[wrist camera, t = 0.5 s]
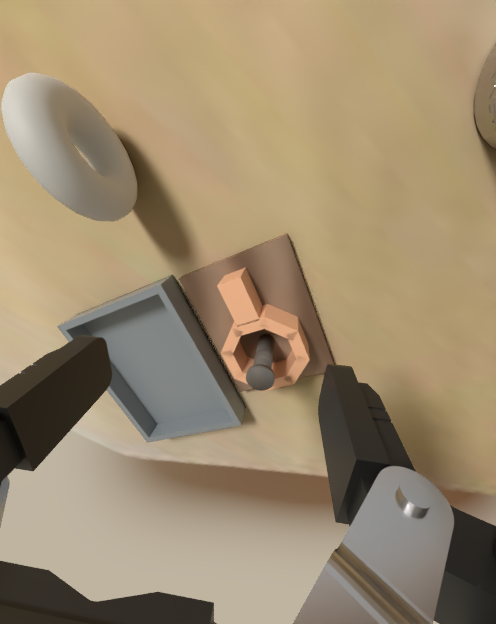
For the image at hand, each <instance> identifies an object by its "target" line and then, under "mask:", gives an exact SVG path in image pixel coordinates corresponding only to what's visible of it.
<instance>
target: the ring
mask: <svg viewBox="0 0 496 624" xmlns="http://www.w3.org/2000/svg"><path fill="white" fill-rule="evenodd" d="M217 287H218V289H219V291H220V293H221V295H222V297H223V299H224V301H225V303H226V305H227V307H228V309H229V311H230V313H231V315H232V317H233V319H234V323H233V325H232V327H231V330H230V332H229V335H228V337H227V339H226V342H225V344H224V346H223V349H222V351H221V355H222V357H223V359H224V360H225V362H226V364H227V366H228V368H229V370H230V371H231V373H232V375H233V377H234V379H236V380H239V381H241V382H244V383H246V384H248V383H247V381H246V374H247V371H248V369H249V368H250V367H251V366H253V363H254V359H252V358H250V357H248V356H247V355H246V353H245V351H244V349H243V347H242V345H241V343H240V341H239V339H240V337H241V336H242V335H245V334H249V333H252V332H255V331H259V330H262V329H266V330H268V331H271V332H273V333H275V334H278V335H280V336H282V337H285V338H287V339H288V340H289V343H290V345H291V348H292V351H291V353H290V354H289V356H288V358H287V359H286V360H282V361H278V362H274V363H272V368H271V369H272V370H273V372H274V374H275V380H274V384H273V386H272V387H271V388H269V389H267V390H270V389H274V388H279V387H283V386H288V385H292V384H295V382H296V380H297V379H298V377H299V376H300V374H301V373H302V371H303V370H304V368H305V367H306V365H307V363H308V362H309V360H310V358H309V346H308V342H307V339H306V337H305V334H304V332H303V329H302V326H301V324H300V321H299V319H298V317H297V316H295V315H292V314H290V313H288V312H285V311H283V310H281V309H278V308H276V307H274V306H271V305H269V304H265V305H262V303H261V301H260V299H259V296H258V294H257V292H256V289H255V287H254V285H253V283H252V280H251V278H250V276H249V273H248V271H247V269H246V267H245V268H243V269H240V270H238V271H235V272H232V273H230V274H227V275H225V276H224V277H223V278H222V280H221V281H220V282H219V284H218V285H217ZM263 391H265V390H263Z"/></svg>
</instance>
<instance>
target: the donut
mask: <svg viewBox="0 0 496 624" xmlns="http://www.w3.org/2000/svg"><path fill="white" fill-rule="evenodd" d="M1 111H2V116H3V120H4V125H5V130H6V133H7V135H8V137H9V139H10V141H11V143H12V145H13V147H14V149H15V151H16V153H17V155H18V157H19V159H20V160H21V161H22V163H23V164H24V165H25V167H26V168H27V169H28V171H29V172H30V173H31V175H32V176H33V177H34V179H35V180H36V181H37V182H38V183H39V184H40V185H41V186H42V187H43V188H44V189H45V190H46V191H47V192H48V193H50V194H51V195H52V196H53V197H54V198H55V199H56V200H58V201H59V202H61V203H62V204H63V205H65V206H66V207H68V208H69V209H71V210H72V211H74V212H76V213H77V214H80V215H82V216H85V217H87V218H90V219H92V220H97V221H116V220H119V219H121V218H123V217H124V216H126V215H128V214H129V213H130V212H131V211H132V209H133V207H134V204H135V202H136V200H137V180H136V176H135V172H134V168H133V166H132V163H131V161H130V159H129V156H128V154H127V152H126V150H125V148H124V146H123V145H122V143H121V141H120V139H119V137H118V136H117V135H116V133H115V132H114V130H113V129H112V127H111V126H110V125H109V123H108V122H107V121H106V119H105V118H104V117H103V116H102V115H101V114H100V113H99V112H98V110H97V109H96V108H95V107H94V106H93V105H92V104H91V103H90V102H89V101H88V100H87V99H86V98H85V97H83V96H82V95H81V94H80V93H79V92H78V91H77V90H75V89H74V88H72V87H70V86H69V85H67V84H65V83H64V82H62V81H60V80H58V79H56V78H54V77H51V76H47V75H43V74H39V73H27V74H25V75H22V76H20V77H17V78H15V79H13V80H10V82H9V83H8V85H7V86H6V89H5V92H4V95H3V99H2V102H1ZM74 145H75V146H76V147H77V148H78V149H79V151H80V152H81V153H82V154H83V155H84V157H85V158H86V160H87V161H88V163H89V164H90V166H91V167H90V166H89V164H88V163H87V162H86V161H85V160H84V159H83V157H82V156H81V155H80V153H79V152H78V150H77V149H76V147H75V146H74Z"/></svg>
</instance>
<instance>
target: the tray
mask: <svg viewBox="0 0 496 624" xmlns="http://www.w3.org/2000/svg"><path fill="white" fill-rule="evenodd" d="M57 327H58V328H59V330H60V331H61V332H62V333H63V335H64V336H65V337H66V339H67V340H68V341H69V342H70V341H72V340H73V339H75V338H76V337H78V336H80V335H85V336H94V337H102V338H104V339H105V341H106V343H107V348H108V353H109V359H110V364H111V369H112V379H111V383H110V385H109V387H108V388H107V391H108V392H109V394H110V395H111V396H112V398H113V399H114V400H115V401H116V403H117V404H118V405H119V407H120V408H121V409H122V410H123V412H124V413H125V414H126V416H127V417H128V418H129V419H130V421H131V422H132V423H133V425H134V426H135V427H136V428H137V430H138V431H139V432H140V433H141V435H142V436H143V437H144V439H145V440H146V441H147V442H153V441H159V440H164V439H169V438H175V437H180V436H186V435H191V434H197V433H202V432H207V431H213V430H218V429H224V428H229V427H235V426H240V425H242V421H243V417H244V412H245V408H246V407H245V405H244V403H243V402H242V400H241V398H240V396H239V394H238V393H237V391H236V389H235V387H234V385H233V383H232V382H231V380H230V378H229V376H228V374H227V373H226V371H225V369H224V367H223V365H222V363H221V362H220V360H219V358H218V356H217V354H216V353H215V351H214V349H213V347H212V345H211V343H210V342H209V340H208V338H207V336H206V334H205V333H204V331H203V329H202V327H201V325H200V323H199V322H198V320H197V318H196V316H195V314H194V313H193V311H192V309H191V307H190V305H189V303H188V302H187V300H186V298H185V296H184V294H183V293H182V291H181V289H180V287H179V285H178V284H177V282H176V280H175V278H174V276H173V275H171V276H169V277H166V278H164V279H162V280H159V281H157V282H154V283H152V284H150V285H147V286H145V287H142V288H140V289H137V290H135V291H133V292H130V293H128V294H125V295H123V296H120V297H118V298H116V299H113V300H111V301H108V302H106V303H104V304H101V305H99V306H96V307H94V308H91V309H89V310H87V311H84V312H82V313H79V314H77V315H75V316H73V317H72V318H70V319H68V320H67V321H65V322H63V323H62V324H60V325H59V326H57Z"/></svg>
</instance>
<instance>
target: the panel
mask: <svg viewBox="0 0 496 624" xmlns="http://www.w3.org/2000/svg"><path fill="white" fill-rule="evenodd" d="M245 267H246V269H247V271H248V273H249V276H250V278H251V280H252V283H253V285H254V287H255V289H256V292H257V294H258V296H259V299H260V301H261V303H262V305H265V304H269V305H271V306H274V307H276V308H278V309H281V310H283V311H285V312H288V313H290V314H292V315H295V316H297V317H298V319H299V321H300V324H301V326H302V329H303V332H304V334H305V337H306V339H307V342H308V346H309V358H310V360H309V362H308V363H307V365H306V367H305V368H304V370H303V371H302V373H301V374H300V376H299V377H298V379H299V378H303V377H307V376H312V375H316V374H321V373H325V370H326V367H327V365H328V364H334V362H333V359H332V356H331V353H330V351H329V348H328V345H327V342H326V340H325V337H324V334H323V331H322V328H321V326H320V323H319V320H318V317H317V315H316V312H315V309H314V306H313V303H312V301H311V298H310V295H309V292H308V290H307V287H306V284H305V281H304V278H303V276H302V273H301V270H300V267H299V265H298V262H297V259H296V256H295V254H294V251H293V248H292V245H291V242H290V240H289V237H288V234H285V235H282V236H280V237H277V238H275V239H272V240H270V241H267V242H265V243H262V244H260V245H257V246H255V247H253V248H250V249H248V250H245V251H243V252H240V253H238V254H235V255H233V256H230V257H228V258H225V259H223V260H221V261H218V262H216V263H213V264H211V265H208V266H206V267H203V268H201V269H198V270H196V271H193V272H191V273H188V274H186V275H184V276H182V277H181V278H179V280H180V282H181V284H182V285H183V287H184V289H185V291H186V293H187V295H188V296H189V298H190V300H191V302H192V304H193V306H194V307H195V309H196V311H197V313H198V315H199V317H200V318H201V320H202V322H203V324H204V326H205V328H206V329H207V331H208V333H209V335H210V337H211V339H212V340H213V342H214V344H215V346H216V348H217V350H218V351H219V353H220V355H221V351H222V349H223V346H224V344H225V342H226V339H227V337H228V335H229V332H230V330H231V327H232V325H233V323H234V319H233V317H232V315H231V313H230V311H229V309H228V307H227V305H226V303H225V301H224V299H223V297H222V295H221V293H220V291H219V289H218V287H217V285H218V284H219V282H220V281H221V280H222V278H223V277H224V276H225V275H227V274H230V273H232V272H235V271H238V270H240V269H243V268H245ZM239 341H240V343H241V345H242V347H243V349H244V351H245V353H246V355H247V356H248V357H250V358H252V359H254V363H253V366H251V367H250V368H249V369H248V371H247V374H246V381H247V383H248V384H246V383H244V382H241V381H239V380H236V379H234V377H233V375H232V373H231V371H230V370H229V368H228V366H227V364H226V362H225V360H224V359H223V357H222V355H221V357H222V359H223V361H224V362H225V364H226V366H227V368H228V370H229V372H230V374H231V375H232V377H233V379H234V381H235V383H236V385H237V386H238V388H239V390H240V392H241V391H246V390H250V389H256V390H267V389H269V388H271V387H272V386H273V384H274V380H275V374H274V372H273V370H272V369H271V368H272V363H274V362H278V361H282V360H286V359H287V358H288V356H289V354H290V353H291V351H292V348H291V345H290V343H289V340H288V339H287V338H285V337H282V336H280V335H278V334H275V333H273V332H271V331H268V330H266V329H262V330H259V331H255V332H252V333H249V334H245V335H242V336H241V337H240V339H239ZM334 365H335V364H334Z"/></svg>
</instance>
